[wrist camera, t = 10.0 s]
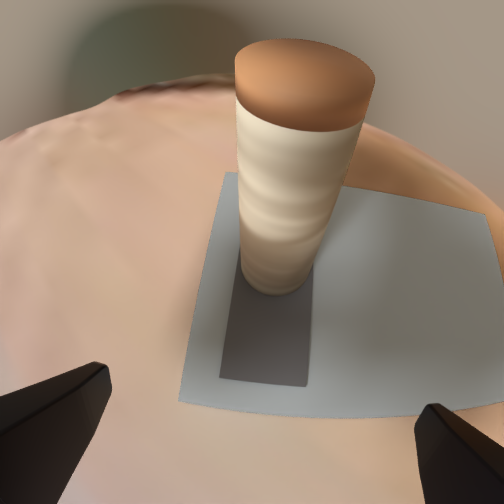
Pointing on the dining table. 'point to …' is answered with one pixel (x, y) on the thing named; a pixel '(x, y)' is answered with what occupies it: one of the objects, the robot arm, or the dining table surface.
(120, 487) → the dining table surface
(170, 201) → the dining table surface
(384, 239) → the board
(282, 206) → the birch peg
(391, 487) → the dining table surface
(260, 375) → the strip
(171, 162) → the dining table surface
